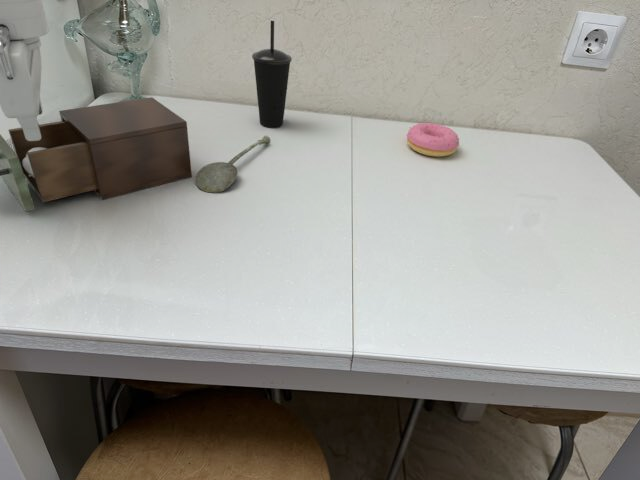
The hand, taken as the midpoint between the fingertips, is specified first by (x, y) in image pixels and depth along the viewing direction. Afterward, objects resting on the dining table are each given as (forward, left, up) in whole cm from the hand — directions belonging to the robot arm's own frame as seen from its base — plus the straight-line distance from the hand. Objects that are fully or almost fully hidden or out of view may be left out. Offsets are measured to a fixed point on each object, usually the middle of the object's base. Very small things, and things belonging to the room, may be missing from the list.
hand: (35, 125), depth 68 cm
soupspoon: (+25, +15, -11) cm, 31 cm away
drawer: (0, 0, -9) cm, 9 cm away
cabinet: (+9, +8, -10) cm, 16 cm away
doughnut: (+61, +33, -11) cm, 70 cm away
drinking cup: (+27, +36, -11) cm, 46 cm away
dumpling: (0, 0, -8) cm, 8 cm away
